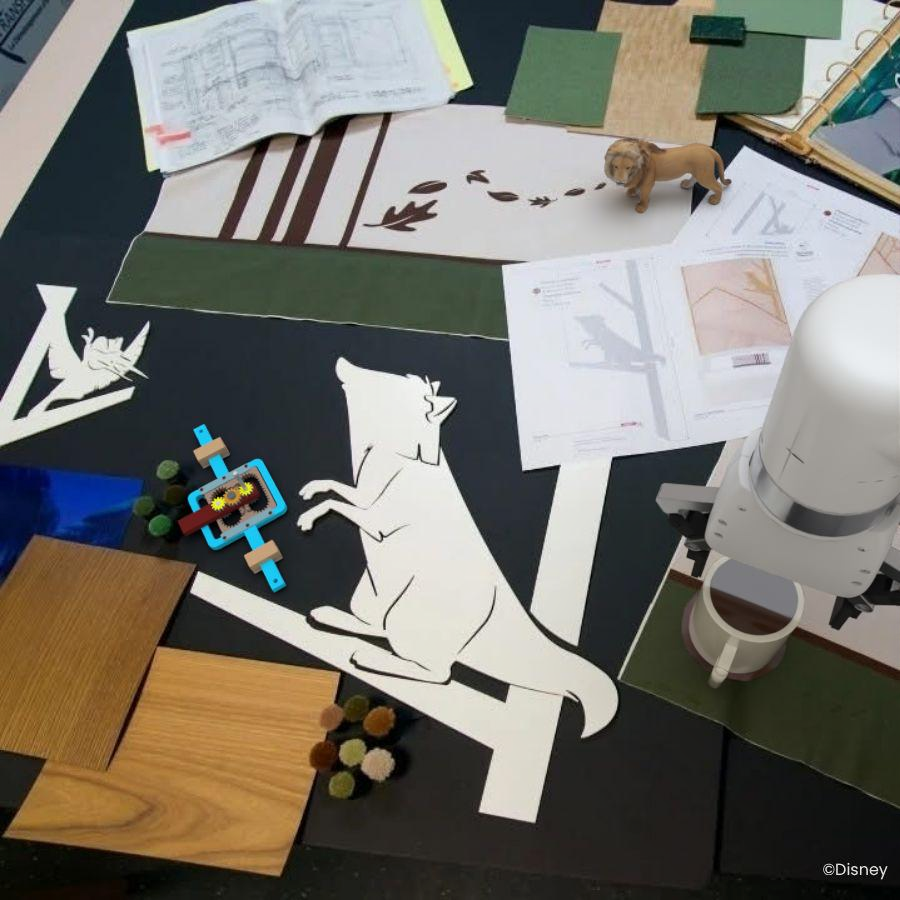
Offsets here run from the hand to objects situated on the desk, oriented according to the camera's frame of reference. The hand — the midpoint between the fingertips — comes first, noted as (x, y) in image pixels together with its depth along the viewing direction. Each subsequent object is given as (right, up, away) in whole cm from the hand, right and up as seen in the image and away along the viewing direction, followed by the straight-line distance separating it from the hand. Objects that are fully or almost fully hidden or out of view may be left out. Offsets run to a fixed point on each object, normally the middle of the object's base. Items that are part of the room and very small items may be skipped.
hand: (768, 584), depth 61 cm
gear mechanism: (-43, +4, +21) cm, 48 cm away
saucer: (+1, -6, +10) cm, 11 cm away
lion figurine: (+1, +37, +35) cm, 51 cm away
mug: (0, -6, +8) cm, 10 cm away
